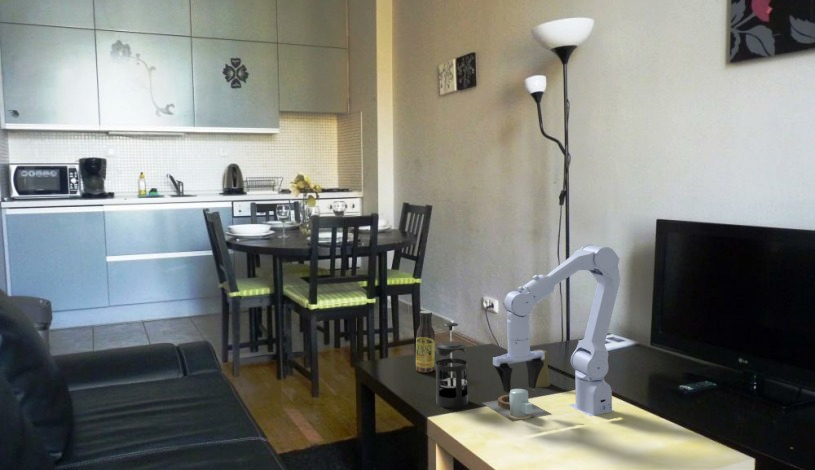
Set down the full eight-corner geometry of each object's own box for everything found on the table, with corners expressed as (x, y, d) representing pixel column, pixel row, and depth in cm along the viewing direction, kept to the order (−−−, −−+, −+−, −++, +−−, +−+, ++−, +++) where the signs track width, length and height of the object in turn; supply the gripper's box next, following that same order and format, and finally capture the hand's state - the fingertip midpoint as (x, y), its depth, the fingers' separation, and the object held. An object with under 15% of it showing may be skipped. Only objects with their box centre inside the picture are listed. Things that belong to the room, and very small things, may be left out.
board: (552, 416, 167) (552, 408, 167) (512, 423, 163) (512, 416, 163) (518, 398, 182) (518, 391, 182) (481, 404, 177) (481, 397, 177)
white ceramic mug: (506, 412, 169) (506, 390, 168) (522, 410, 170) (521, 387, 170) (521, 422, 162) (521, 398, 161) (537, 419, 163) (537, 396, 163)
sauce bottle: (413, 372, 210) (412, 313, 209) (418, 367, 216) (417, 309, 215) (432, 374, 209) (431, 313, 207) (437, 368, 214) (436, 310, 213)
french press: (476, 407, 175) (474, 325, 174) (445, 413, 172) (443, 328, 170) (457, 395, 186) (455, 317, 184) (427, 400, 182) (425, 320, 181)
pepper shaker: (549, 383, 196) (549, 347, 195) (551, 389, 190) (551, 352, 189) (529, 383, 196) (528, 347, 196) (531, 389, 190) (530, 352, 190)
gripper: (533, 331, 172) (534, 381, 173) (486, 338, 166) (487, 389, 167) (549, 337, 165) (549, 388, 166) (500, 343, 160) (501, 397, 161)
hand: (519, 389), depth 166 cm, fingers open, 7 cm apart
